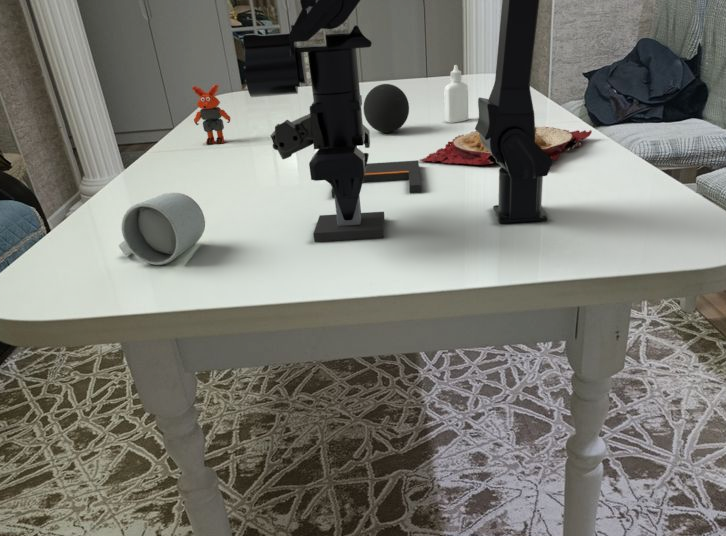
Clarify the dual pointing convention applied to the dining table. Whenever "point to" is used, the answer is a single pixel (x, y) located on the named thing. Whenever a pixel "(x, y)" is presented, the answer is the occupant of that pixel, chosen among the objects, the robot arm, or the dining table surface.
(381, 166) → the dock pad
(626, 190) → the dining table surface
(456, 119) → the eye dropper bottle
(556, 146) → the plate with food
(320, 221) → the loose pad
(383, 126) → the dark grey ball
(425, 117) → the dining table surface
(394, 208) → the dining table surface
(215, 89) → the toy animal
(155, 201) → the ceramic mug
